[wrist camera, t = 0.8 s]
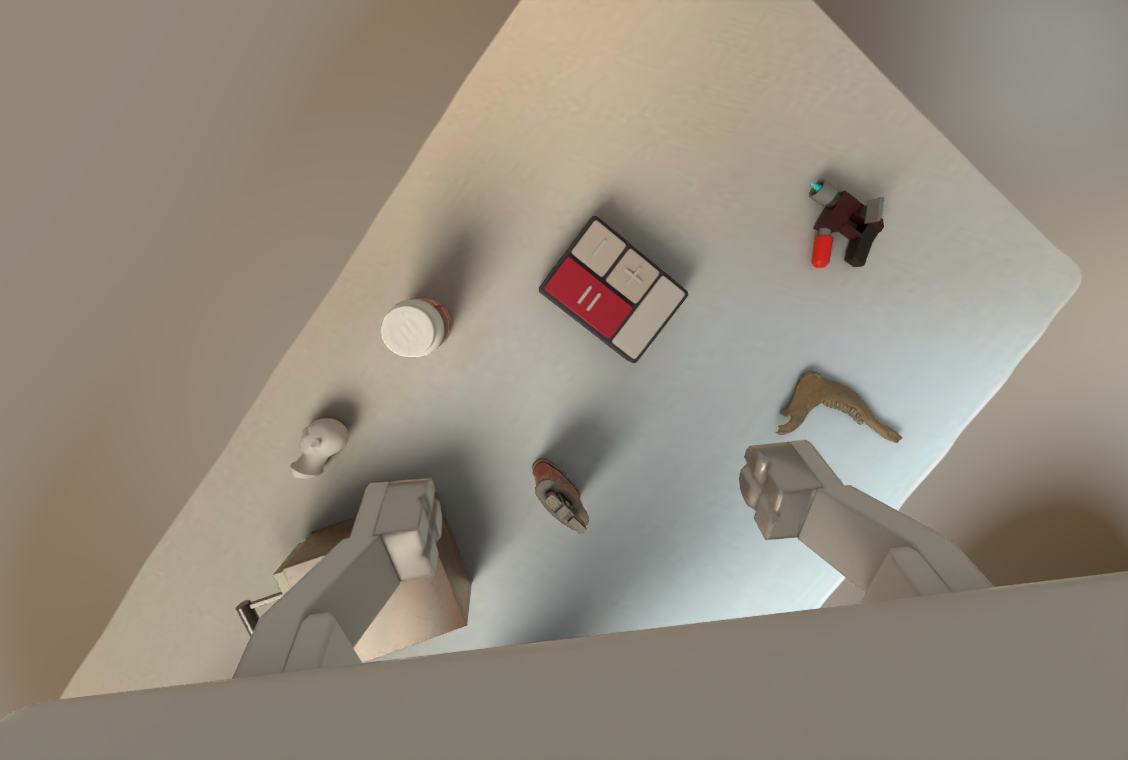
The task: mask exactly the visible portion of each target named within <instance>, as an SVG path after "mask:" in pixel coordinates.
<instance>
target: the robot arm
mask: <svg viewBox="0 0 1128 760" xmlns="http://www.w3.org/2000/svg"><path fill="white" fill-rule="evenodd" d="M744 458H745V459H746V461H747V464H746V465H745V466H744V467H743V468H742V469H741V472H740V477H739V482H740V490H741V493H742V496H743V498H744V500H745V502H746V504H747V505H748V506H750V507H751V508H753V509H754V510H756V513H755V517H754V519H755V521H756V523H757V525H758V527H759V529H760V531H761V532H762V534H763V536H764V538H765V540H771V539H783V538H795V537H799V538H798V539H799V540H800V541H801V542H803V543H804V544H805V545H806V546H808V547H809V548H810V549H811V550H813V551H814V552H815V553H816V554H818V555H819V556H820V557H821V558H822V559H824V560H825V561H826V562H827V563H829V564H830V565H831V566H832V567H834V568H835V569H836V570H837V571H839V572H840V573H841V574H842V575H844V576H845V577H846V578H847V579H849V580H850V581H851V582H852V583H854V584H855V585H856V586H857V587H859V588H860V589H861V590H862V591H864V592H865V593H864V595H863V596H862V598H861V600H860V601H859V603H858V604H852V605H845V606H836V607H828V608H819V609H810V610H802V611H794V612H785V613H777V614H769V615H761V616H752V617H744V618H736V619H727V620H719V621H711V622H702V623H694V624H686V625H677V626H669V627H661V628H652V629H644V630H636V631H627V632H619V633H610V634H602V635H594V636H585V637H577V638H569V639H560V640H552V641H544V642H535V643H527V644H519V645H510V646H502V647H494V648H485V649H477V650H469V651H460V652H452V653H444V654H435V655H427V656H419V657H410V658H402V659H394V660H385V661H377V662H369V663H362V661H361V660H360V658H359V657H358V655H357V653H356V652H355V650H354V647H355V645H356V644H357V642H358V641H359V640H360V638H361V637H362V636H363V634H364V633H365V631H366V630H367V629H368V627H369V626H370V625H371V623H372V622H373V620H374V619H375V618H376V616H377V615H378V614H379V612H380V611H381V609H382V608H383V607H384V605H385V604H386V603H387V601H388V600H389V598H390V597H391V596H392V594H393V593H394V592H395V590H396V589H397V587H398V586H399V585H400V582H401V581H408V580H415V579H422V578H429V577H435V574H436V567H437V560H438V553H439V552H438V549H437V546H436V542H437V541H438V540H439V539H440V537H441V531H442V512H441V506H440V502H439V500H438V499H436V498H435V497H434V494H435V486H434V483H433V480H432V479H430V478H427V479H414V480H401V481H390V482H379V483H370V484H369V485H368V487H367V488H366V490H365V493H364V496H363V499H362V502H361V505H360V508H359V511H358V514H357V517H356V520H355V523H354V526H353V529H352V532H351V535H350V538H346V539H343V540H342V541H341V542H339V543H338V544H337V545H336V546H335V547H334V548H333V549H332V550H331V551H330V552H329V553H328V554H327V555H326V556H325V557H324V558H323V559H321V560H320V561H319V562H318V563H317V564H316V565H315V566H314V567H313V568H312V569H311V570H310V571H309V572H308V573H307V574H306V575H305V576H303V577H302V578H301V579H300V580H299V581H298V582H297V583H296V584H295V585H294V586H293V587H292V588H291V589H290V590H289V591H288V592H287V593H285V594H284V595H283V596H282V597H281V598H280V599H279V600H278V601H277V602H276V603H275V604H274V605H273V606H272V607H271V608H270V609H269V610H268V611H266V612H265V613H264V614H263V615H262V616H261V617H260V618H259V620H258V622H257V624H256V626H255V629H254V631H253V633H252V635H251V638H250V640H249V642H248V644H247V647H246V649H245V651H244V653H243V656H242V658H241V660H240V662H239V664H238V667H237V669H236V671H235V673H234V676H233V678H232V679H227V680H219V681H211V682H202V683H194V684H186V685H177V686H169V687H161V688H152V689H144V690H135V691H127V692H119V693H110V694H102V695H94V696H85V697H77V698H69V699H60V700H52V701H46V702H41V703H35V704H31V705H28V706H25V707H22V708H19V709H17V710H15V711H13V712H11V713H10V714H8V715H7V716H5V717H4V718H2V719H1V720H0V760H1128V571H1125V572H1117V573H1109V574H1100V575H1092V576H1085V577H1076V578H1068V579H1059V580H1051V581H1042V582H1034V583H1026V584H1018V585H1009V586H1001V587H994V586H993V585H992V584H991V583H990V582H989V581H988V579H987V578H986V577H985V576H984V575H983V574H982V573H981V572H980V571H979V569H978V568H977V567H976V566H975V565H974V564H973V563H972V562H971V561H970V560H969V559H968V557H967V556H966V555H965V554H964V553H963V552H962V551H961V550H960V548H959V547H958V546H957V545H956V544H955V543H954V542H953V541H952V540H951V539H949V538H947V537H945V536H943V535H941V534H939V533H938V532H935V531H934V530H932V529H930V528H928V527H926V526H925V525H923V524H921V523H919V522H917V521H915V520H913V519H911V518H910V517H908V516H906V515H904V514H902V513H901V512H899V511H897V510H895V509H893V508H891V507H890V506H888V505H886V504H884V503H882V502H880V501H878V500H877V499H875V498H873V497H871V496H869V495H867V494H865V493H864V492H862V491H860V490H858V489H856V488H854V487H853V486H851V485H847V486H844V484H843V483H842V482H841V481H840V479H839V478H838V477H837V475H836V474H835V473H834V472H833V470H832V469H831V468H830V467H829V465H828V464H827V463H826V461H825V460H824V459H823V458H822V456H821V455H820V454H819V453H818V451H817V450H816V449H815V447H814V446H813V445H812V444H811V443H810V442H809V441H807V440H800V441H791V442H781V443H772V444H763V445H754V446H749V447H748V448H747V449H746V452H745V456H744Z"/></svg>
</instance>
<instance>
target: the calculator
mask: <svg viewBox="0 0 1128 760" xmlns="http://www.w3.org/2000/svg"><path fill="white" fill-rule="evenodd" d="M539 292H540V293H541V294H542V295H544V296H545V297H546V298H548V299H549V300H550V301H551V302H553V303H554V304H555V305H557V306H558V307H559V308H560V309H562V310H563V311H564V312H566V313H567V314H568V315H570V316H571V317H572V318H573V319H575V320H576V321H577V322H579V323H580V324H581V325H582V326H584V327H585V328H586V329H588V330H589V331H590V332H591V333H593V334H594V335H595V336H597V337H598V338H599V339H600V340H602V341H603V342H604V343H605V344H607V345H608V346H609V347H610V348H612V349H613V350H614V351H616V352H617V353H618V354H619V355H621V356H622V357H623V358H625V359H626V360H628V361H630V362H632V363H636V362H637V361H638V360H639V359H640V357H641V356H642V355H643V353H644V352H645V351H646V349H647V348H648V347H649V346H650V344H651V343H652V342H653V340H654V339H655V338H656V337H657V335H658V334H659V333H660V331H661V330H662V329H663V327H664V326H665V325H666V324H667V322H668V321H669V320H670V318H671V317H672V316H673V315H674V313H675V312H676V311H677V309H678V308H679V307H680V305H681V304H682V303H683V302H684V300H685V299H686V298H687V296H688V292H687V291H686V290H685V289H684V288H683V287H682V286H680V285H679V284H678V283H677V282H676V281H674V280H673V279H672V278H671V277H670V276H668V275H667V274H666V273H665V272H664V271H662V270H661V269H660V268H659V267H658V266H656V265H655V264H654V263H653V262H651V261H650V260H649V259H648V258H647V257H645V256H644V255H643V254H642V253H641V252H639V251H638V250H637V249H636V248H635V247H633V246H632V245H631V244H630V243H628V242H627V241H626V240H625V239H624V238H622V237H621V236H620V235H619V234H618V233H616V232H615V231H614V230H613V229H612V228H610V227H609V226H608V225H607V224H606V223H604V222H603V221H602V220H601V219H599V218H598V217H597V216H593V217H592V218H591V219H590V220H589V221H588V223H587V224H586V225H585V227H584V228H583V229H582V231H581V232H580V233H579V235H578V236H577V238H576V239H575V240H574V242H573V243H572V244H571V246H570V247H569V248H568V250H567V251H566V252H565V254H564V255H563V256H562V258H561V259H560V260H559V262H558V263H557V264H556V266H555V267H554V268H553V270H552V271H551V272H550V274H549V275H548V276H547V278H546V279H545V280H544V282H543V283H542V284H541V286H540V287H539Z"/></svg>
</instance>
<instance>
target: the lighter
mask: <svg viewBox="0 0 1128 760" xmlns="http://www.w3.org/2000/svg"><path fill="white" fill-rule="evenodd" d="M532 473H533V475H534V477H535V483H536V487H535V493H536V496H537V497H538V499H539V500H540V501H541V503H542V504H543V506H544V507H545V508H546V509H547V510H548V511H549V512H550V513H551V514H552V516H554V517H555V518H556V519H557V520H559V521H560V522H561V523H563V524H564V525H566V526H567V527H569V528H571V529H572V530H575V531H577V532H578V533H579V534H582V533H584V532H585V531H586V529H587V528H586V525H587V524H588V522H589V517H588V514H587V512H586V510H585V509H584V507H583V505H582V502H581V500H580V493H579V490H578V489H577V487H576V486H575V484H574V483H573V481H572V480H571V479H570V478H569V477H568V476H567V475H566V473H565V472H563V471H562V470H561V469H560V468H559V467H557V466H556V465H555V464H553V463H552V462H550V461H548V460H547V459H538V460H537V461H535V462H534V464H533V466H532Z"/></svg>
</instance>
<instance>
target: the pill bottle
mask: <svg viewBox="0 0 1128 760" xmlns="http://www.w3.org/2000/svg"><path fill="white" fill-rule="evenodd" d="M450 331H451V319H450V315H449V313H448V311H447V310H446V309H445V307H444V306H443V305H441V304H440V303H439V302H437V301H435V300H432V299H426V298H421V299H411V300H405V301H402V302H400V303H398V304H396V305H395V306H394V307H393V308H392V309H391V310H390V311H389V312H388V314H387V315H386V316H385V318H384V320H383V322H382V326H381V334H382V338H383V341H384V343H385V344H386V346H387V347H388V348H389V349H390V350H391V351H392V352H394V353H396V354H398V355H400V356H404V357H422V356H425V355H428V354H430V353H432V352H433V351H434V350H436V349H437V348H438V347H439V346H440V345H441V344H443V343H444V342H445V341H446V339H447V338H448V336H449V334H450Z"/></svg>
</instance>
